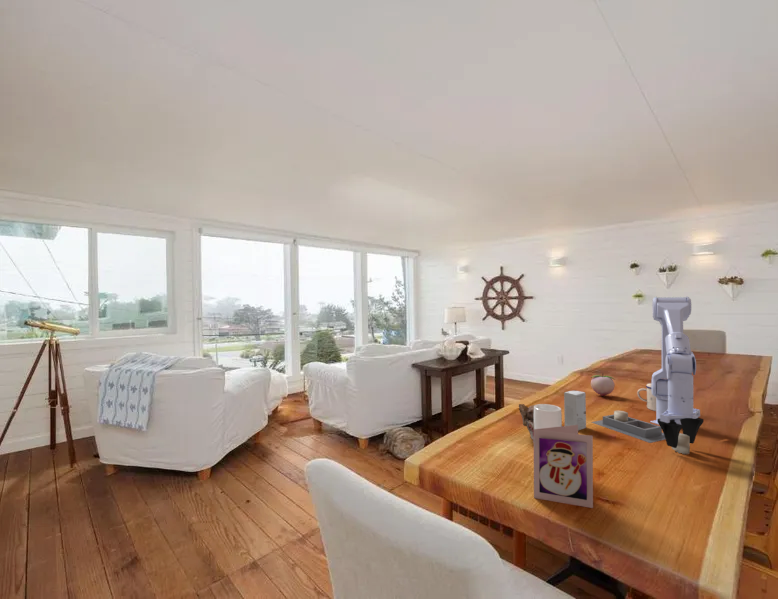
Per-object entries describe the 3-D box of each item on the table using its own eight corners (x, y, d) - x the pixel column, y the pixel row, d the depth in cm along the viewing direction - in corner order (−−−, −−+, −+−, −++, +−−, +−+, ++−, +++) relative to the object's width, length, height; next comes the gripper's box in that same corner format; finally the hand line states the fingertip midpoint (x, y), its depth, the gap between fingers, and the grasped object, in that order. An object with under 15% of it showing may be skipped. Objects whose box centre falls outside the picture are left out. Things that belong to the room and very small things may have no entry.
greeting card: (533, 499, 81) (533, 430, 81) (533, 483, 88) (533, 420, 88) (593, 510, 77) (593, 437, 77) (588, 492, 84) (588, 425, 84)
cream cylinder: (677, 447, 109) (677, 432, 108) (692, 452, 105) (692, 436, 105) (668, 449, 107) (668, 434, 107) (683, 455, 103) (683, 438, 103)
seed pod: (529, 407, 126) (506, 401, 117) (579, 406, 115) (558, 399, 106) (532, 449, 121) (508, 446, 112) (584, 452, 110) (563, 449, 101)
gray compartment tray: (615, 419, 134) (615, 410, 134) (675, 438, 115) (675, 428, 115) (590, 423, 129) (590, 414, 129) (650, 444, 111) (650, 434, 111)
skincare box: (576, 432, 121) (576, 395, 121) (563, 428, 125) (563, 392, 125) (586, 428, 124) (586, 392, 124) (573, 425, 128) (573, 389, 128)
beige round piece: (619, 423, 128) (619, 410, 128) (630, 426, 124) (630, 413, 124) (611, 424, 127) (611, 411, 127) (622, 428, 123) (622, 414, 123)
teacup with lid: (675, 408, 146) (675, 378, 146) (675, 414, 139) (674, 383, 139) (638, 403, 153) (638, 375, 153) (636, 408, 146) (636, 378, 146)
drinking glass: (559, 473, 93) (559, 412, 93) (531, 466, 97) (531, 408, 97) (563, 462, 99) (563, 406, 99) (536, 457, 103) (536, 402, 102)
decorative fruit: (595, 398, 161) (595, 375, 161) (588, 393, 169) (588, 371, 169) (618, 399, 160) (618, 375, 160) (610, 394, 168) (610, 371, 168)
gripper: (679, 402, 99) (679, 453, 99) (712, 397, 105) (712, 445, 105) (652, 396, 106) (652, 444, 106) (684, 391, 111) (684, 436, 111)
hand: (680, 444), depth 106 cm, fingers open, 7 cm apart
